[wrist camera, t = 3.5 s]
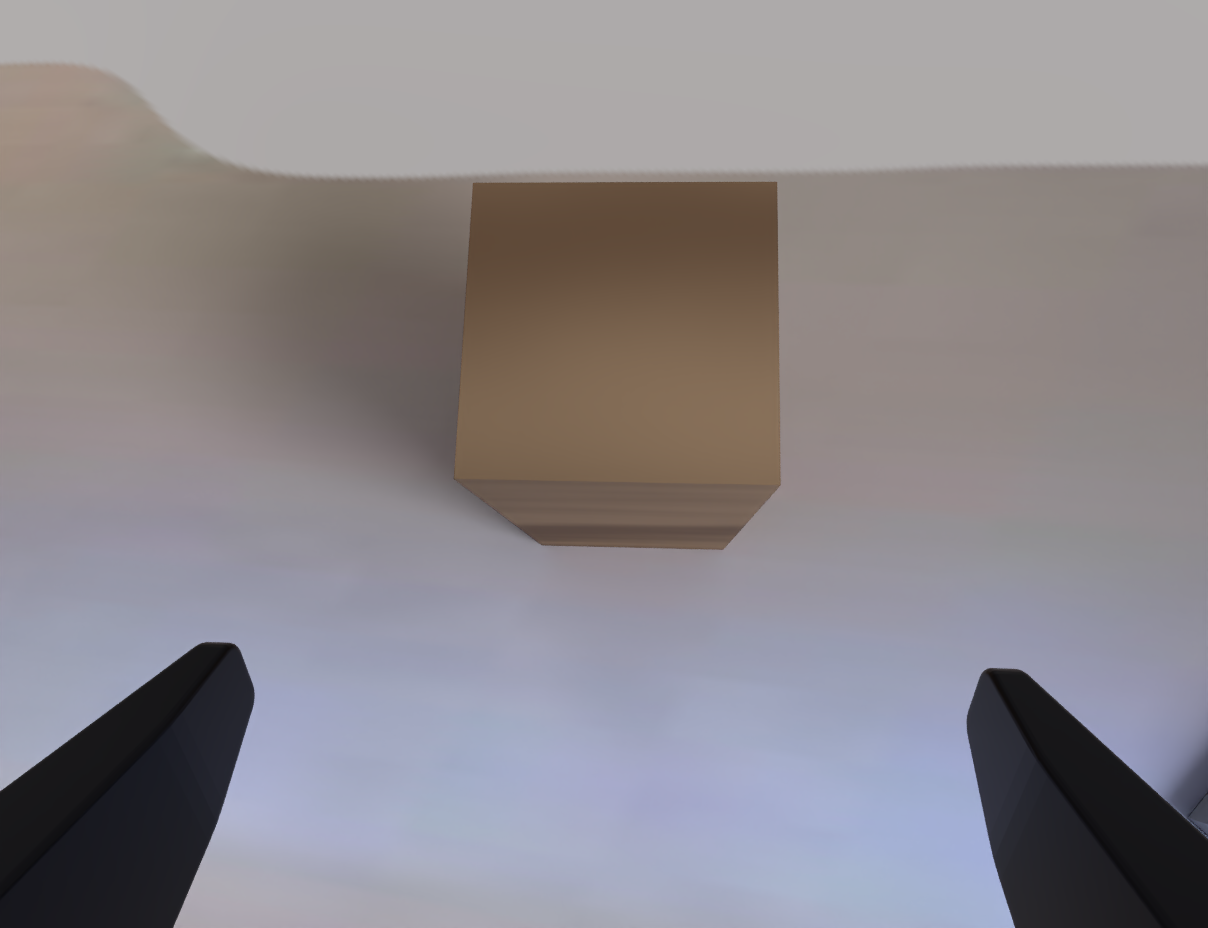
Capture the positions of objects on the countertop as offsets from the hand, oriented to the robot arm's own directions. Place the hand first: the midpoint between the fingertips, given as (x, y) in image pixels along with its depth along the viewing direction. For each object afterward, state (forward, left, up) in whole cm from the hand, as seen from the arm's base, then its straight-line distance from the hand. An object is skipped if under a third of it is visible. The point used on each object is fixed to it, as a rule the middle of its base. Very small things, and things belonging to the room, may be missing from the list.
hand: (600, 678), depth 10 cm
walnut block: (+2, +5, -13) cm, 14 cm away
